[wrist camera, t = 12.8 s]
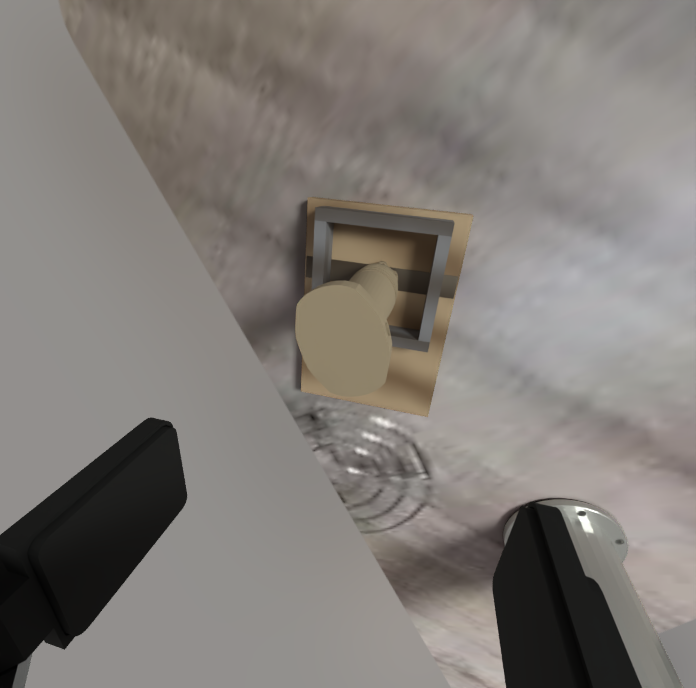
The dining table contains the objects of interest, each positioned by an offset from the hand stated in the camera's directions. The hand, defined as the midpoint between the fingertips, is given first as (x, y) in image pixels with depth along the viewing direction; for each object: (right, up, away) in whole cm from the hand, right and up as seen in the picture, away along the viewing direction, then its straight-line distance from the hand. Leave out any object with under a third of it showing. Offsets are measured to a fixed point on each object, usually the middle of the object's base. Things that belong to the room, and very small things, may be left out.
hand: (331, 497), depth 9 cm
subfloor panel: (+3, +7, +26) cm, 27 cm away
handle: (+3, +10, +23) cm, 25 cm away
